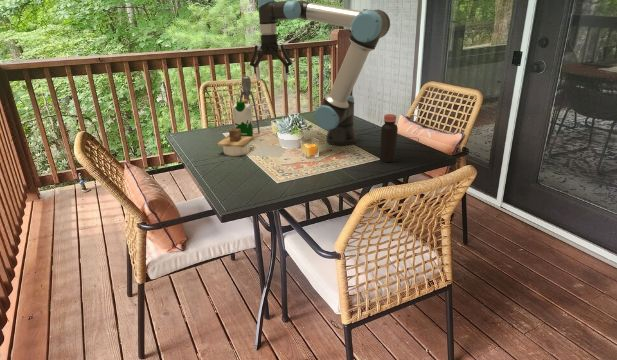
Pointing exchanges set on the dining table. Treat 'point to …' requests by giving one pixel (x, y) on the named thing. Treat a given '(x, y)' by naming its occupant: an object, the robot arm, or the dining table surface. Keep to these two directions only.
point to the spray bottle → (246, 88)
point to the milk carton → (243, 118)
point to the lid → (235, 139)
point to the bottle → (388, 139)
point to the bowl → (236, 150)
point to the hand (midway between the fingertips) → (272, 80)
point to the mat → (268, 151)
